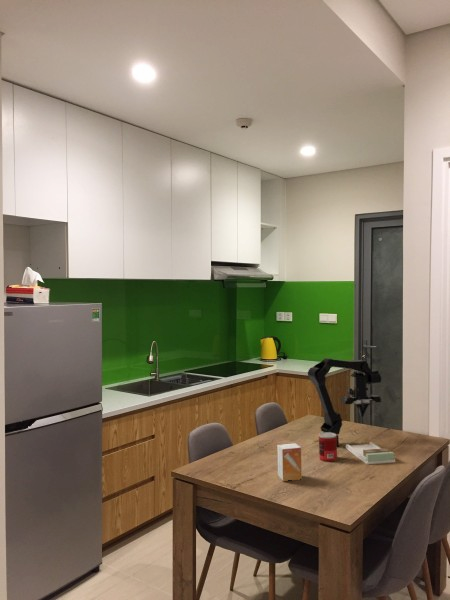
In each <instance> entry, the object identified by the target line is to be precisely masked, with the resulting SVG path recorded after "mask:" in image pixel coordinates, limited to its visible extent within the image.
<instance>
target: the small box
mask: <svg viewBox="0 0 450 600" xmlns="http://www.w3.org/2000/svg"><path fill="white" fill-rule="evenodd" d="M276 446H277V451H276V453H277V476H279V477H280V478H281V479H282V480H283V481H284V482H289V481H288V480H292V481H300V479H301V480H302V479H303V478H302V477H303V476H302V447H301V446H300V445H299V444H297V443H287V444H286V443H283V444H277V445H276ZM279 477H278V478H279ZM280 478H279V479H280ZM281 479H280V480H281ZM282 480H281V481H282ZM283 481H282V482H283Z"/></svg>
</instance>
